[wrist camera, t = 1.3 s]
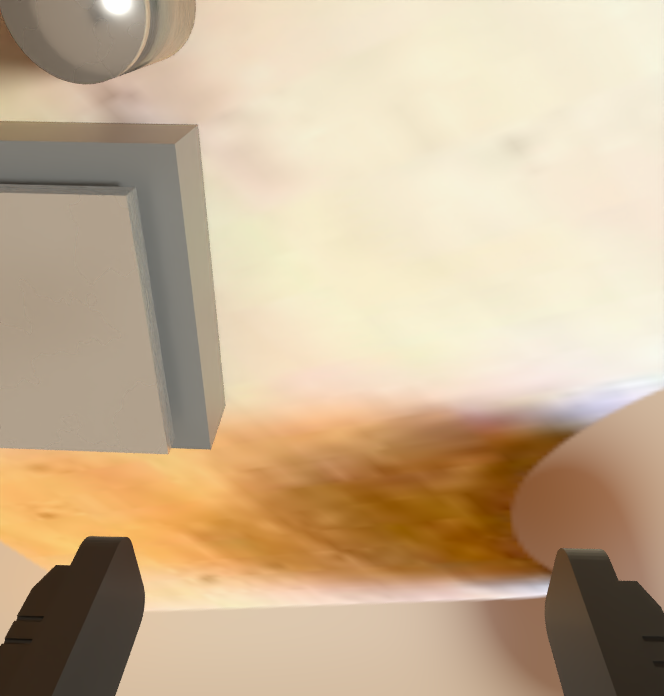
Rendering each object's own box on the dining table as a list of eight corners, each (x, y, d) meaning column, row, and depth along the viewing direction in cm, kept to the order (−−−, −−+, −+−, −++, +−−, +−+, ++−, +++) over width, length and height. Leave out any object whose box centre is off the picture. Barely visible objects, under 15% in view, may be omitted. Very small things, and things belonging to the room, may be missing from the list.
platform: (-175, 180, 25) (-198, 188, 24) (135, 186, 25) (125, 195, 24) (-73, 429, 32) (-87, 444, 31) (174, 438, 31) (168, 454, 30)
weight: (71, -69, 25) (-23, -86, 19) (189, -68, 25) (132, -86, 19) (94, 61, 27) (17, 83, 21) (201, 63, 27) (154, 85, 21)
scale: (-149, 118, 29) (-224, 137, 25) (197, 124, 28) (173, 145, 25) (-46, 396, 37) (-91, 441, 33) (225, 405, 36) (209, 453, 33)
